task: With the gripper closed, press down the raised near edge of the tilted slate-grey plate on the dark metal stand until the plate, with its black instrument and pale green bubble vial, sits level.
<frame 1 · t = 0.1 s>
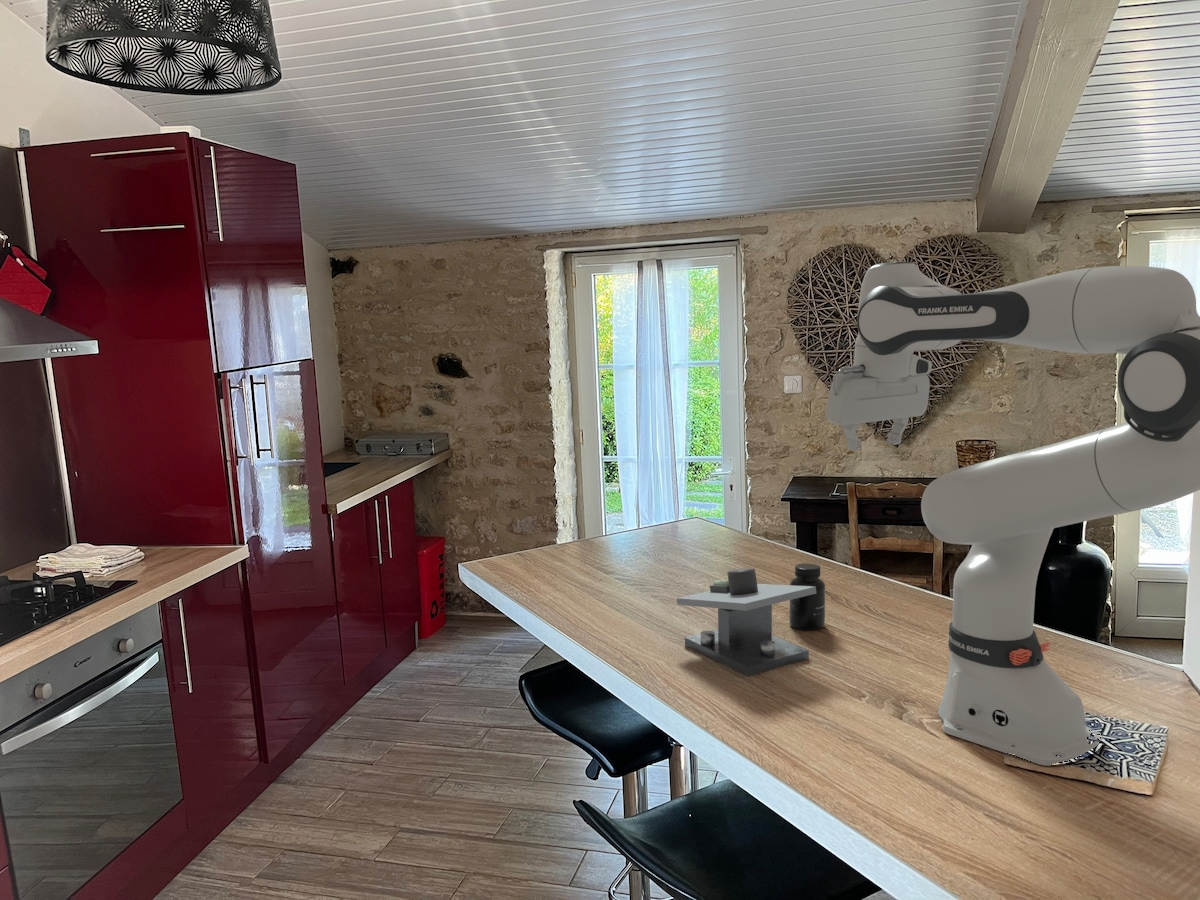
hand: (873, 446, 154), 39 cm above the breakfast bar, fingers open, 8 cm apart
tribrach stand: (745, 652, 170), on the breakfast bar
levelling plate: (743, 586, 168), point 12 cm above the breakfast bar, hinge at 12.0°
supplement bottle: (807, 626, 183), on the breakfast bar
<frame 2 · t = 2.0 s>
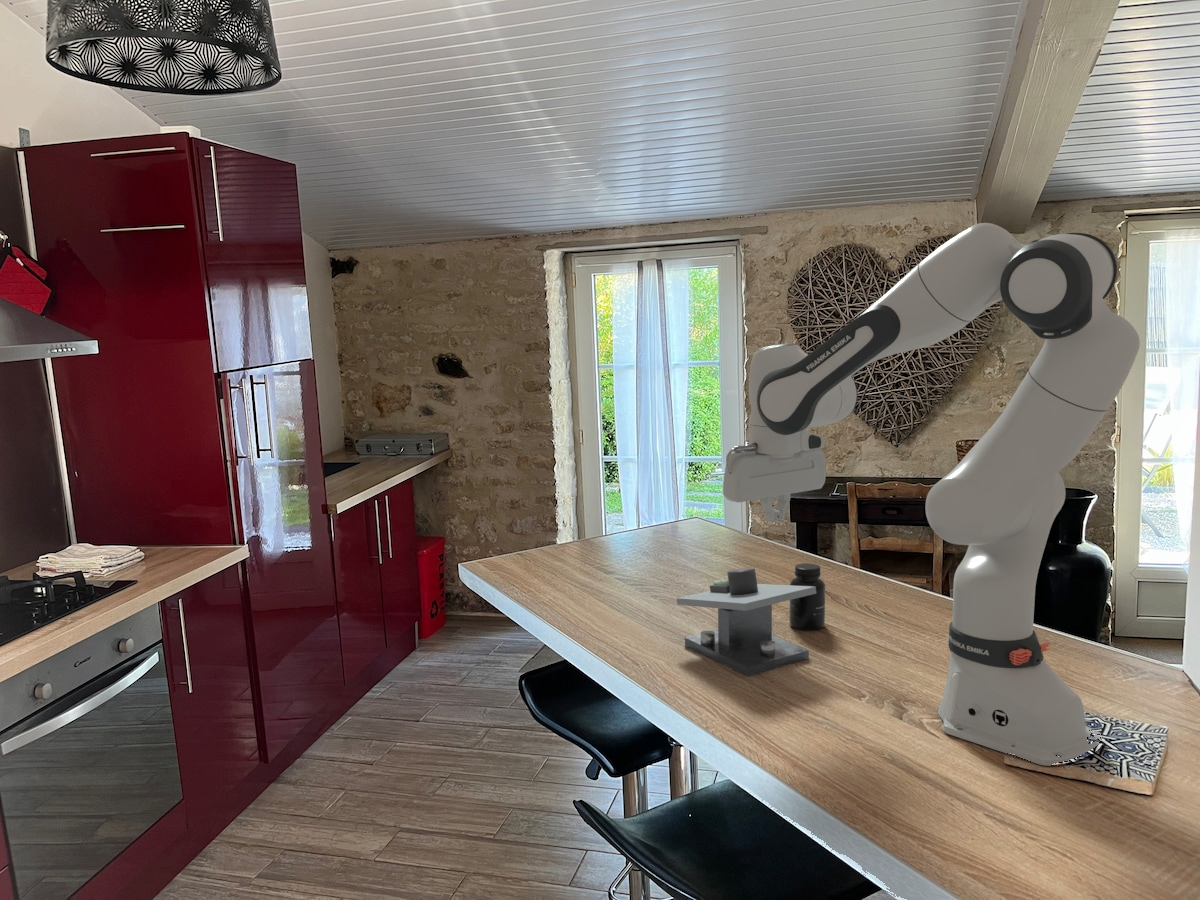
hand: (774, 520, 159), 26 cm above the breakfast bar, fingers closed
nothing on the breakfast bar moved.
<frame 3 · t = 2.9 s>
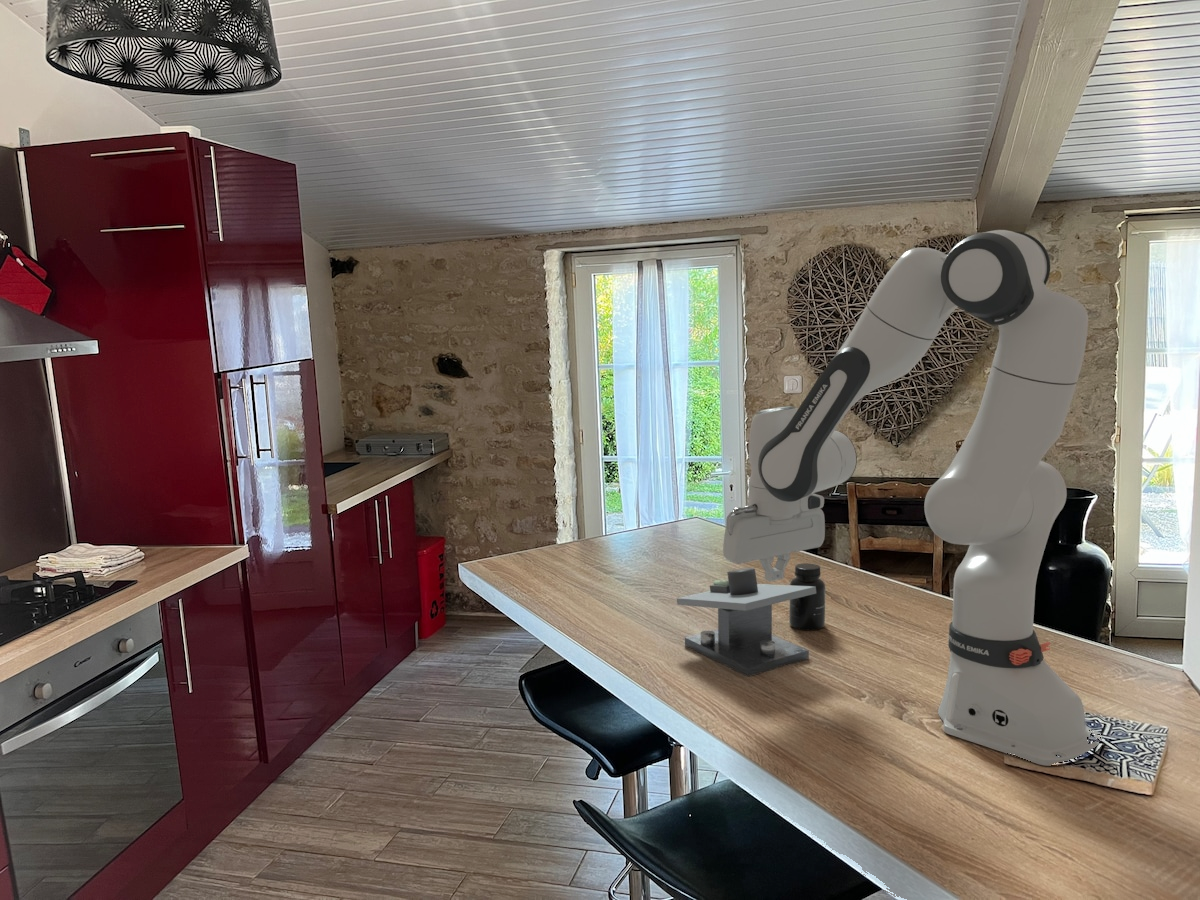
hand: (774, 579, 160), 16 cm above the breakfast bar, fingers closed
nothing on the breakfast bar moved.
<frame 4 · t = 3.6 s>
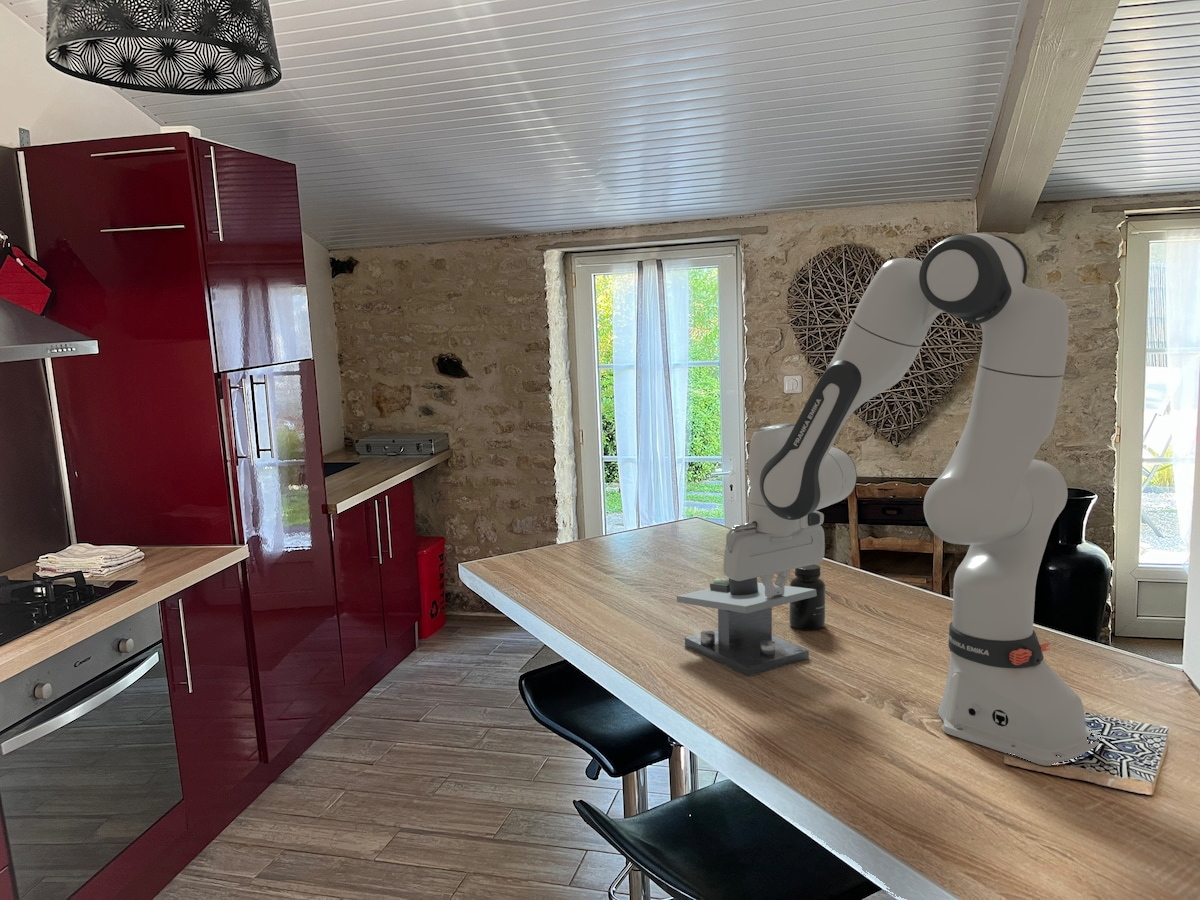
hand: (774, 596, 161), 13 cm above the breakfast bar, fingers closed, pressing on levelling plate
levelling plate: (743, 586, 168), point 12 cm above the breakfast bar, hinge at 9.2°, touching gripper
everything else where it was.
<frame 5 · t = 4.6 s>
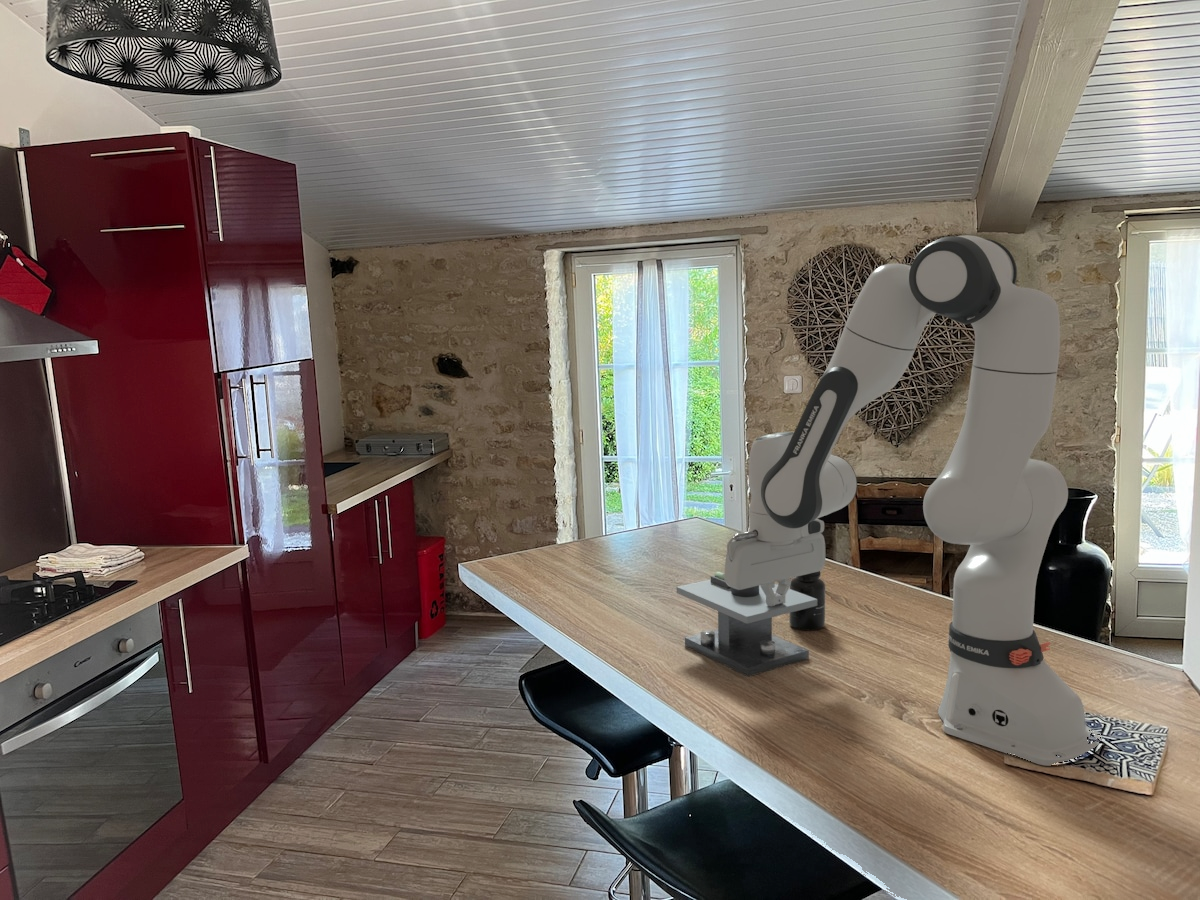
hand: (775, 604, 161), 11 cm above the breakfast bar, fingers closed
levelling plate: (745, 586, 168), point 12 cm above the breakfast bar, hinge at -0.6°
everything else where it was.
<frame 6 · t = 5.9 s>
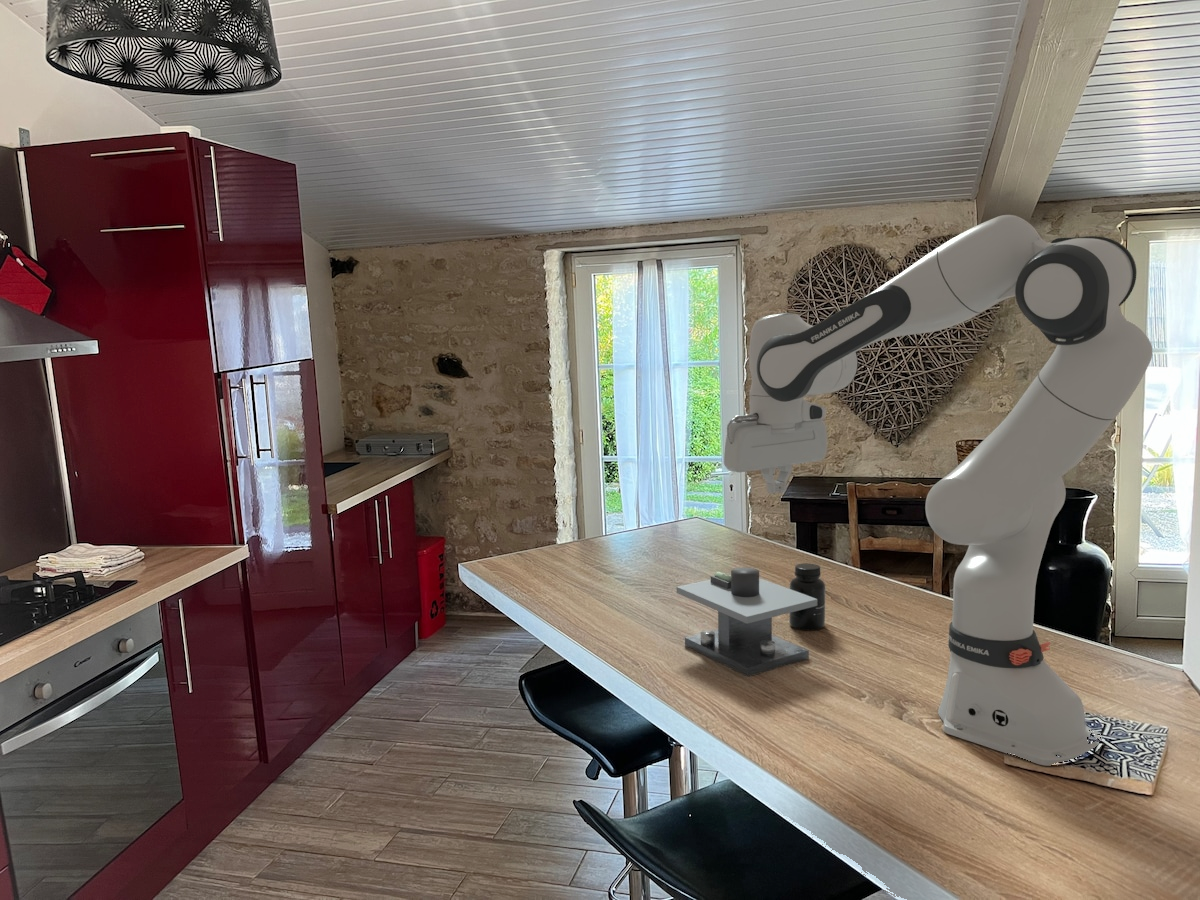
hand: (776, 492, 158), 31 cm above the breakfast bar, fingers closed
nothing on the breakfast bar moved.
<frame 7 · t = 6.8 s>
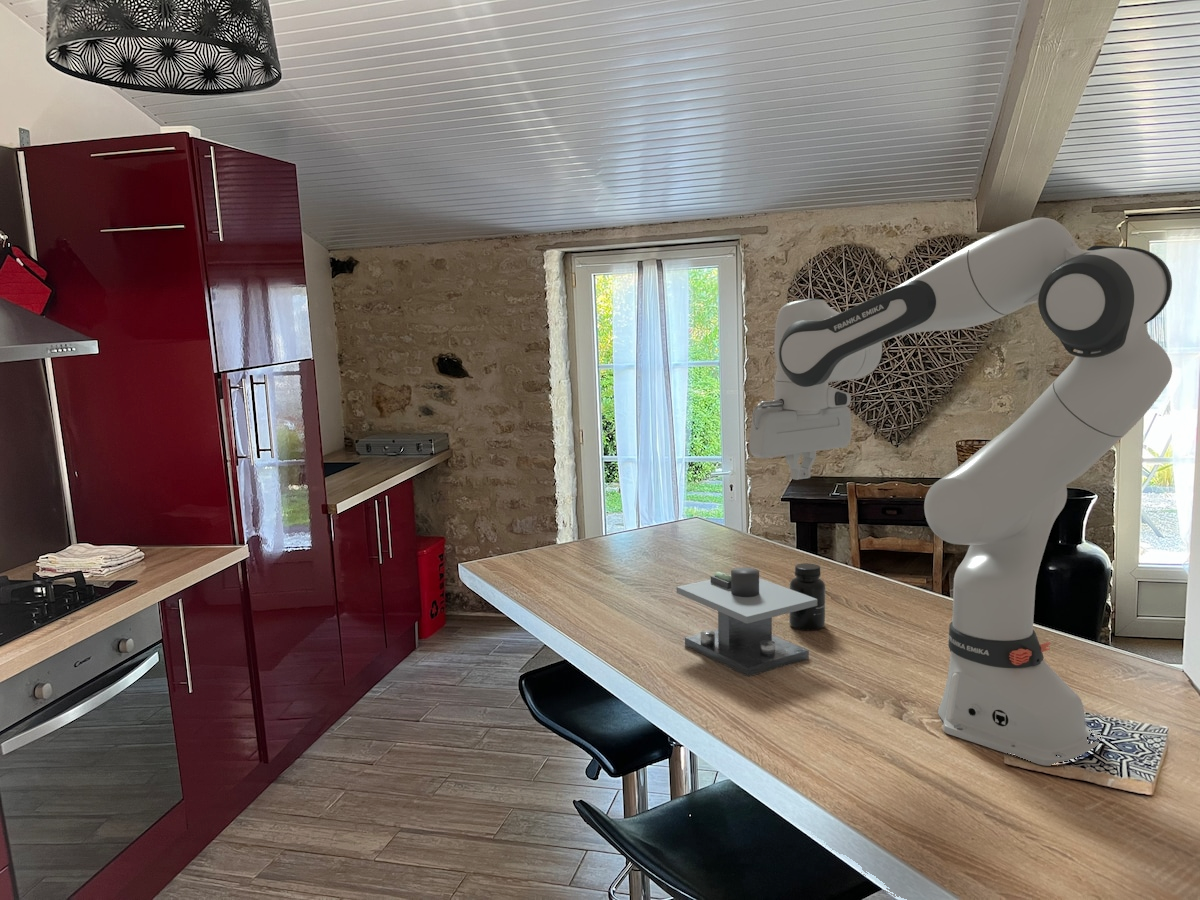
hand: (800, 478, 158), 33 cm above the breakfast bar, fingers closed
nothing on the breakfast bar moved.
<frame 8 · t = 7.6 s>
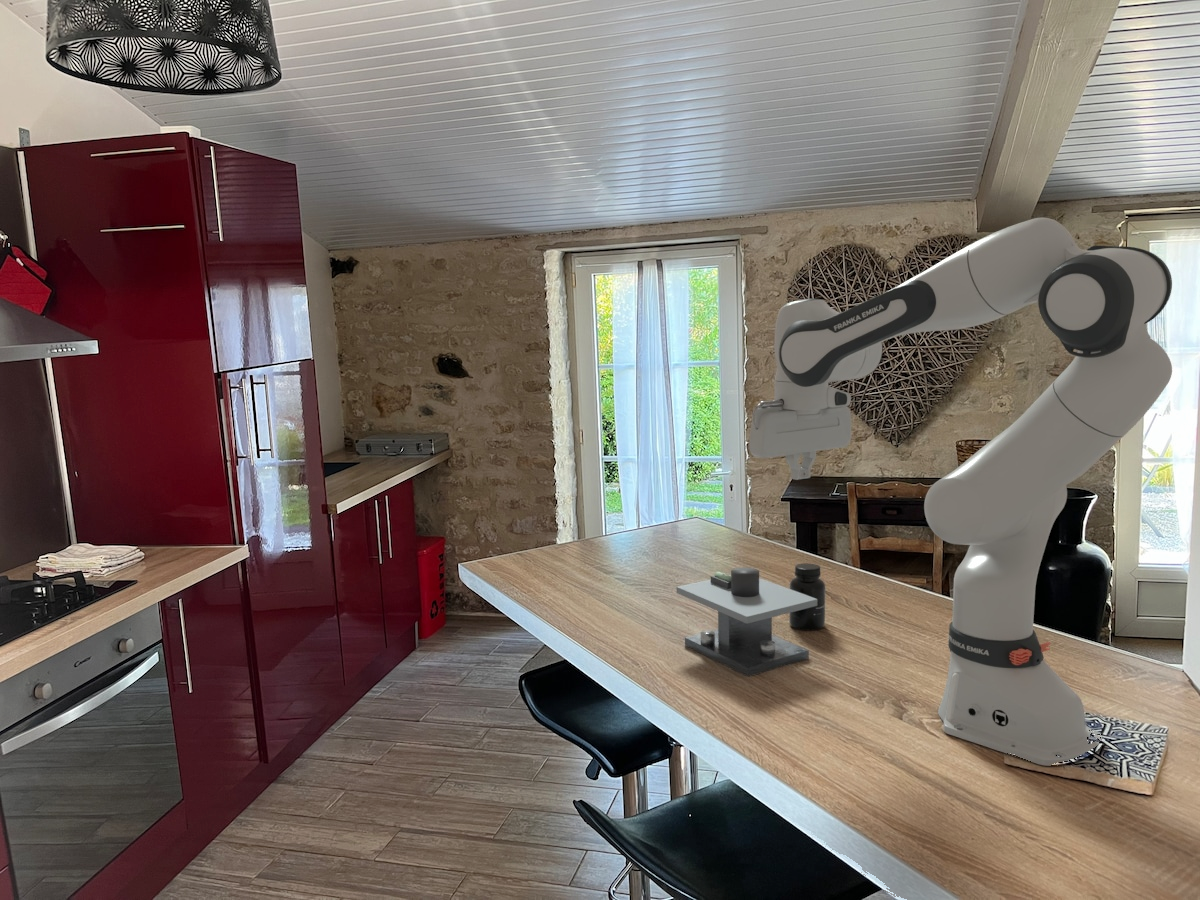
hand: (800, 478, 158), 33 cm above the breakfast bar, fingers closed
nothing on the breakfast bar moved.
at the end: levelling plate at -1° (first picture: +12°); supplement bottle moved 0.2 cm from its start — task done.
